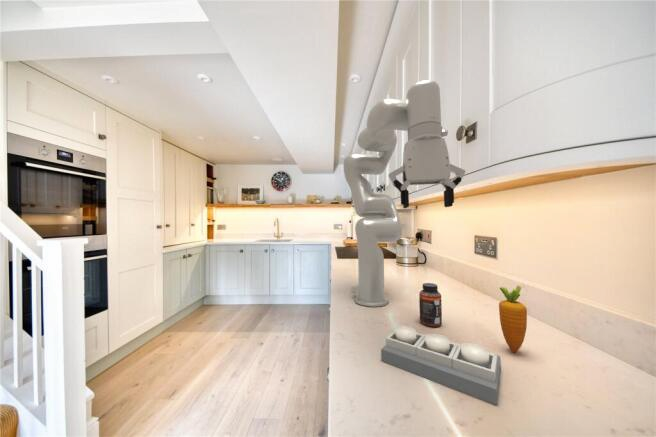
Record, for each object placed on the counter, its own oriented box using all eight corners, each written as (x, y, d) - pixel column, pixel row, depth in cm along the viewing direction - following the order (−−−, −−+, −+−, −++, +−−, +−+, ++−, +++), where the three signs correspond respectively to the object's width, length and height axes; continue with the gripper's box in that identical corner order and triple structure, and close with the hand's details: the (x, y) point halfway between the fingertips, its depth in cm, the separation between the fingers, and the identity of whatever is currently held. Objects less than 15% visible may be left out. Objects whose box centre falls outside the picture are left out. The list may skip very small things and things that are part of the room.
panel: (381, 360, 50) (381, 340, 50) (402, 338, 59) (402, 322, 59) (497, 405, 37) (496, 378, 37) (500, 368, 47) (500, 347, 47)
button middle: (422, 349, 47) (422, 339, 47) (429, 341, 51) (429, 331, 51) (446, 357, 45) (446, 346, 45) (451, 347, 48) (451, 337, 48)
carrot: (498, 352, 52) (496, 285, 53) (502, 344, 56) (500, 281, 56) (527, 361, 49) (524, 289, 49) (529, 352, 53) (527, 285, 53)
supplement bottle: (444, 328, 65) (443, 287, 65) (421, 327, 66) (421, 286, 66) (438, 320, 71) (438, 282, 71) (418, 318, 72) (417, 281, 72)
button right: (459, 361, 43) (459, 350, 43) (463, 350, 47) (463, 340, 47) (488, 370, 40) (487, 358, 40) (490, 358, 44) (489, 347, 44)
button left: (392, 339, 51) (392, 330, 51) (400, 332, 55) (399, 323, 55) (412, 346, 49) (412, 336, 49) (419, 338, 52) (419, 329, 52)
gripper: (455, 140, 59) (458, 207, 58) (385, 144, 61) (387, 209, 60) (470, 127, 52) (473, 204, 51) (389, 132, 54) (392, 206, 53)
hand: (427, 207), depth 56 cm, fingers open, 9 cm apart
